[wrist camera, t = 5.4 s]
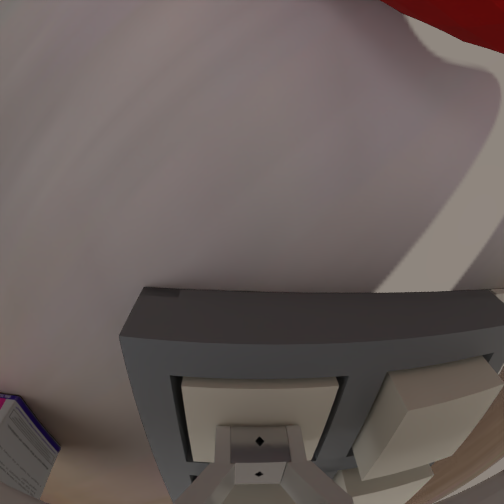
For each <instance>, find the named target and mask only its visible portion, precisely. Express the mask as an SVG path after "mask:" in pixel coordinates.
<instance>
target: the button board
mask: <svg viewBox="0 0 504 504" xmlns="http://www.w3.org/2000/svg"><path fill="white" fill-rule="evenodd" d="M119 339H120V344H121V348H122V352H123V357H124V361H125V365H126V369H127V372H128V376H129V380H130V384H131V387H132V391H133V394H134V398H135V401H136V405H137V408H138V411H139V414H140V417H141V421H142V424H143V427H144V430H145V433H146V436H147V438H148V441H149V444H150V447H151V450H152V452H153V455H154V458H155V460H156V463H157V466H158V468H159V471H160V473H161V476H162V478H163V481H164V483H165V485H166V488H167V490H168V492H169V495H170V497H171V499H172V501H173V503H174V502H175V501H176V500H177V499H178V498H179V497H180V495H181V494H182V493H183V492H184V491H185V490H186V489H187V488H188V487H189V486H190V485H191V484H192V483H193V481H194V480H195V479H196V478H197V476H199V475H200V474H201V472H202V471H203V470H204V469H205V468H206V467H207V466H208V465H209V463H212V462H196V461H193V456H192V451H191V445H190V440H189V434H188V428H187V422H186V415H185V409H184V402H183V395H182V387H181V385H182V379H183V376H186V377H202V378H224V379H300V378H322V377H336V379H337V381H338V384H339V388H338V391H337V393H336V396H335V399H334V402H333V405H332V408H331V411H330V413H329V416H328V419H327V422H326V424H325V427H324V429H323V432H322V435H321V437H320V440H319V442H318V445H317V447H316V450H315V452H314V455H313V457H312V459H311V460H309V461H312V462H313V463H314V464H315V465H316V466H317V467H318V468H320V469H321V470H322V471H323V472H324V473H325V474H326V475H327V476H328V477H329V478H331V479H332V480H333V478H334V476H335V475H336V473H337V471H339V470H345V469H351V468H357V467H358V466H357V463H356V460H355V456H354V453H353V450H352V447H351V446H352V445H353V443H354V441H355V439H356V437H357V435H358V433H359V431H360V429H361V427H362V425H363V423H364V421H365V419H366V417H367V415H368V413H369V411H370V409H371V407H372V405H373V402H374V400H375V398H376V396H377V394H378V391H379V389H380V387H381V385H382V382H383V380H384V378H385V375H386V373H387V372H389V371H397V370H404V369H411V368H418V367H424V366H430V365H436V364H442V363H447V362H452V361H458V360H462V359H467V358H472V357H476V356H481V355H482V356H483V357H484V358H485V360H486V361H487V362H488V363H489V364H490V366H491V367H492V368H493V369H494V370H495V372H496V373H497V374H498V375H499V373H500V371H501V370H502V368H503V366H504V289H491V291H489V290H467V291H442V292H405V293H279V292H239V291H211V290H188V289H168V288H150V287H144V288H143V290H142V292H141V294H140V295H139V297H138V299H137V301H136V303H135V305H134V307H133V309H132V311H131V313H130V315H129V317H128V319H127V321H126V323H125V325H124V326H123V328H122V330H121V333H120V335H119ZM433 463H434V462H432V463H429V465H430V467H431V466H432V464H433Z"/></svg>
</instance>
